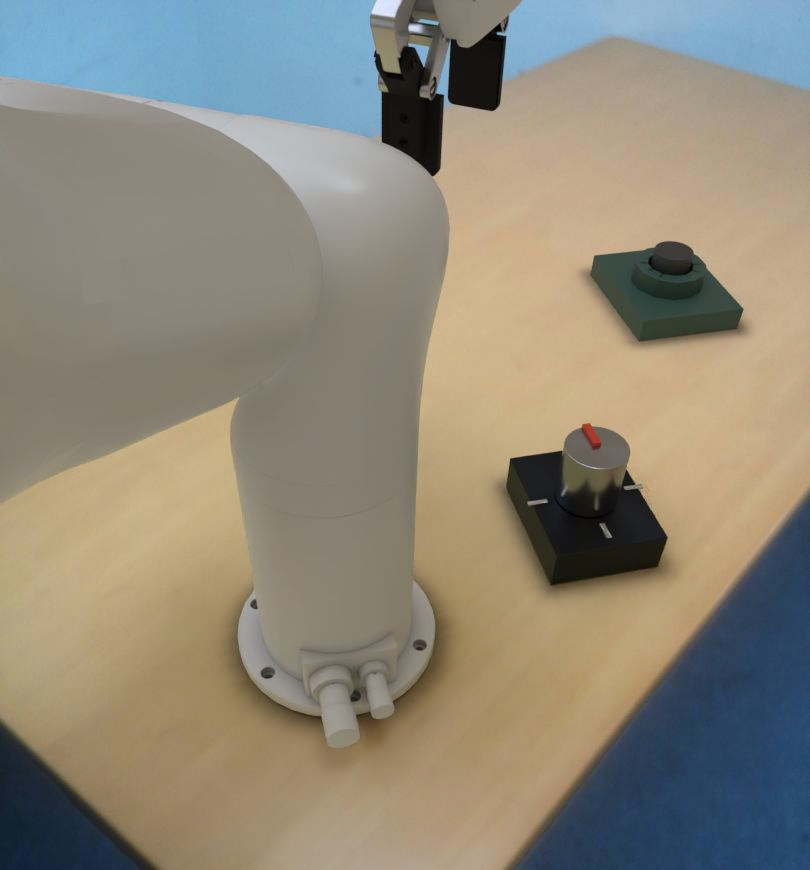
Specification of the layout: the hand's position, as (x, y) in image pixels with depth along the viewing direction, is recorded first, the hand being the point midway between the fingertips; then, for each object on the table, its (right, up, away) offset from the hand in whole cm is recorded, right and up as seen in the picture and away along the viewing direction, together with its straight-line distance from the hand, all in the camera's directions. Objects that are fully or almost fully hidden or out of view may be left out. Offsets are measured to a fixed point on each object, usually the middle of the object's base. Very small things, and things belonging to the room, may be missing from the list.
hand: (444, 136), depth 50 cm
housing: (+23, 0, +35) cm, 42 cm away
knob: (+11, -20, +12) cm, 25 cm away
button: (+23, +3, +33) cm, 40 cm away
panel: (+11, -22, +14) cm, 28 cm away
